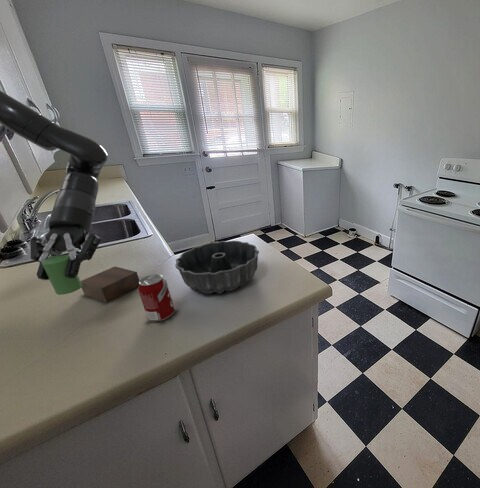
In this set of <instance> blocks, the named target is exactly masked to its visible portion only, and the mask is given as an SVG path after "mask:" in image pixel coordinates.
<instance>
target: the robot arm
mask: <svg viewBox="0 0 480 488" xmlns="http://www.w3.org/2000/svg"><path fill="white" fill-rule="evenodd" d="M0 125H1V126H3V127H4V128H5V129H8V130H9V131H10V132H12V133H14V134H16V135H17V136H19V137H21V138H22V139H25V140H26V141H29V142H30V143H32V144H34V145H36V146H37V147H39V148H41V149H43V150H46V151H50V152H52V151H56V150H61V151H62V152H65V153H68V154H69V156H68V158H67V162H66V167H65V173H64V174H65V175H64V177H63V179H62V181H61V182H62V183H61V184H60V188H59V192H58V195H56V198H55V200H54V204H53V207H52V211H51V213H50V217H49V221H48V227H49V231H48V232H47V233H46V234H45V236H41V237H38V236H32V237H31V238H30V260H32V261H35V262H37V263H39V264H38V268H37V272H36V277H37V279H39V280H42V281H50V280H49V278H48V275H47V273H46V271H45V269H44V267H43V265H42V261H44V260H46V259H48V258H51V257H54V256H59V255H63V253H64V252H67V253H68V255H69V257H70V260H71V261H68V264H67V268H66V272H65V277H68V278H75V277H76V276H77V274H78V275H79V272H80V267H81V264H82V263H83V262H84V261H91V260H92V258H93V256H94V254H95V253H96V250H98V247H99V245H100V243H101V241H102V238H101V237H99V236H98V235H96V234H94V233H90V231H91V229H92V224H93V220H94V216H95V211H96V202H97V201H96V200H97V198H98V197H97V196H98V193H99V187H100V185H99V181H98V180H99V176H100V174H101V171H102V169H103V167H104V166H105V164H107V161H108V157H109V156H108V153H107V151H106V149H105V148H104V147H103V146H102V145H100V144H99V143H98V142H96V141H95V140H94V139H92V138H89V137H87V136H84V135H82V134H80V133H77V132H75V131H72V130H70V129H67V128H64V127H62V126H60V125H59V124H57V123H55V122H54V121H52V120H50V119H49V118H47V117H46V116H44V115H43V114H41V113H40V112H38V111H35V110H34V109H32V108H31V107H29V106H27V105H26V104H24V103H23V102H21V101H19V100H17V99H15V98H13V97H12V96H10V95H9V94H7V93H5V92H4V91H2V90H0ZM89 233H90V234H89Z"/></svg>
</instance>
